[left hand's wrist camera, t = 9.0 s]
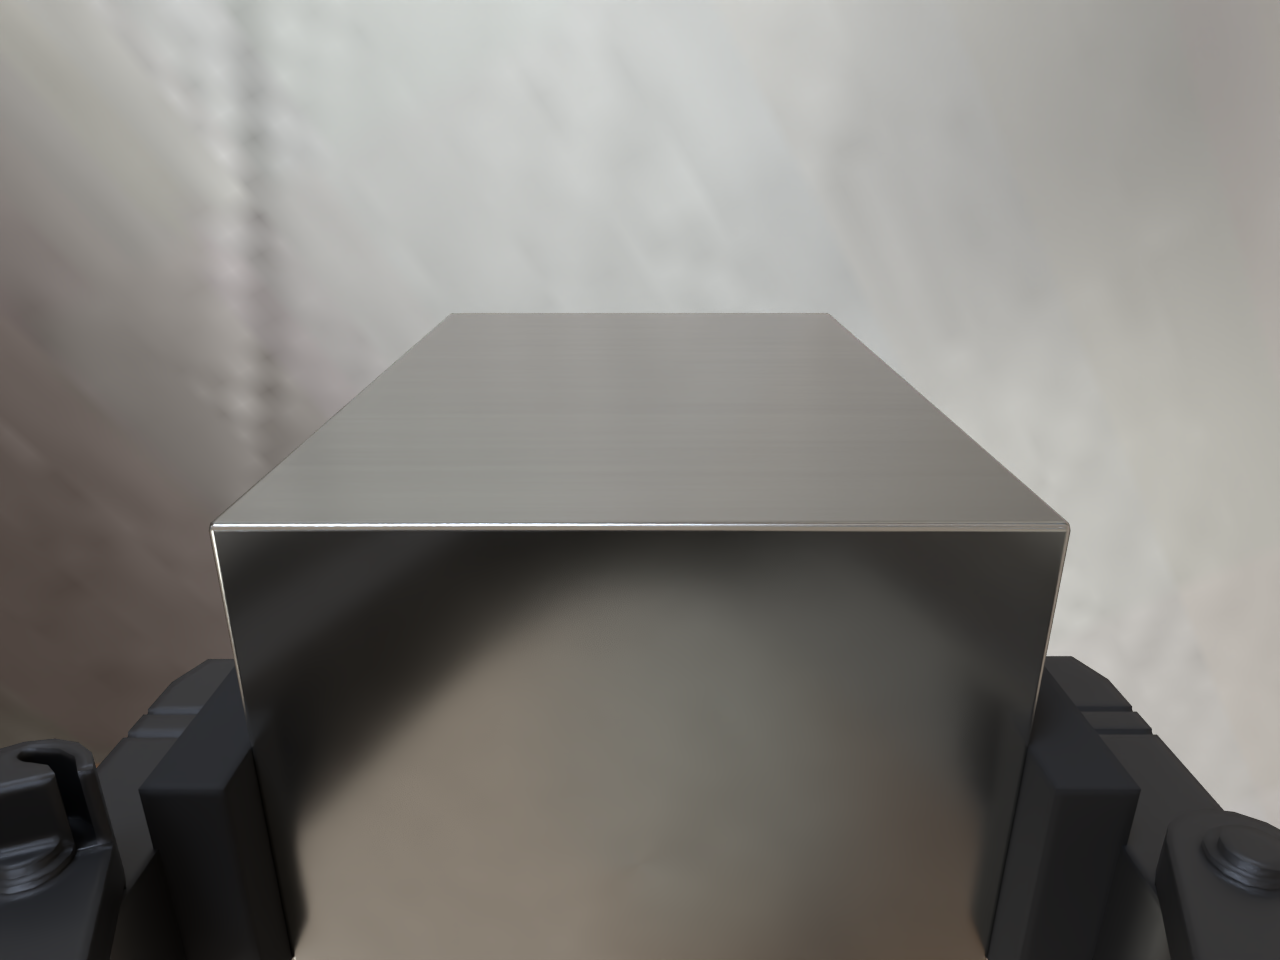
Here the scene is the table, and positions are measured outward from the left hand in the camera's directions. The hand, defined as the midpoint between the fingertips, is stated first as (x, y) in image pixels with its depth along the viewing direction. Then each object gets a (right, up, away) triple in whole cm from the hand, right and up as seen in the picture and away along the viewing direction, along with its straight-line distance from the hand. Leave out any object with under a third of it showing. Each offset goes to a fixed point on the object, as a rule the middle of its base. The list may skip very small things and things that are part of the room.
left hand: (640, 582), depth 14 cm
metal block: (0, +1, +4) cm, 4 cm away
